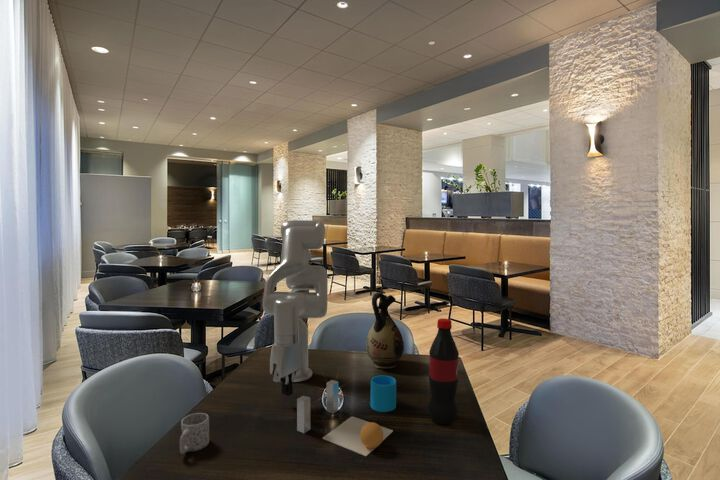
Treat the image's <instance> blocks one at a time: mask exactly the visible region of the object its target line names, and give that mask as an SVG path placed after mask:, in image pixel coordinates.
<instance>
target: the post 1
mask: <svg viewBox="0 0 720 480" xmlns="http://www.w3.org/2000/svg"><path fill="white" fill-rule="evenodd" d="M296 403H297V404H296V431H297V432H300V433H302V434H306V433H307V432H309V431H310V430H311V397H309V396H306V395H302V396H300V397H298V398H296Z"/></svg>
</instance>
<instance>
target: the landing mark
mask: <svg viewBox="0 0 720 480" xmlns="http://www.w3.org/2000/svg"><path fill="white" fill-rule="evenodd" d="M367 423H370V421H368V420H367V421H366V420H364V419H362V418H359V417H355V416H350V417H349V418H347V419H346V420H345V421H343V422H342V423H341V424H339V425H338V426H337V427H335V428H333V429H332V430H331V431H329V432H328V433H327V434H326V435H324V436H323V437H322V440H324V441H327V442H330V443H332V444H335V445H337V446H339V447H341V448H344V449H347V450H349V451H351V452H354V453H356V454H359V455H361V456H364V457H367V456H368V455H370V454H371V452H373V451H374V450H375V449H376V448H368V447H366V446H365V445H364V444H363V443H362V441H361V438H360V432H361V429H362V427H363V426H364V425H365V424H367ZM379 426H380V427H381V428H382V431H383V440H382V442H384V440H386V438H388V437H389V436H390V435H391V434H392V433H393V432H394V430H393V429H390V428H387V427H385V426H381V425H379Z"/></svg>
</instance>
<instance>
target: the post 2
mask: <svg viewBox="0 0 720 480" xmlns="http://www.w3.org/2000/svg"><path fill="white" fill-rule="evenodd" d="M338 411H339V381H338V380H337V381H336V380H334V379H331V380H329V381H327V382H326V412H327V413H329V414H335V413H337V412H338Z"/></svg>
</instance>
